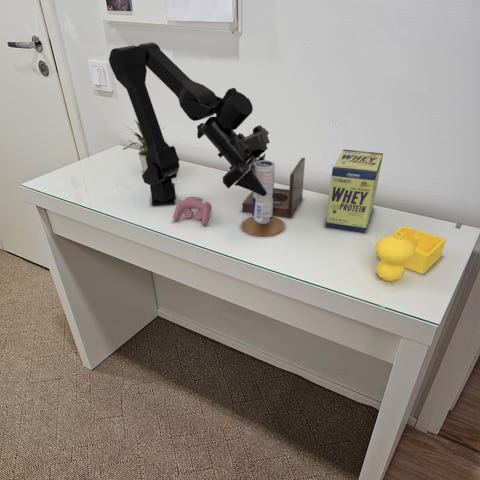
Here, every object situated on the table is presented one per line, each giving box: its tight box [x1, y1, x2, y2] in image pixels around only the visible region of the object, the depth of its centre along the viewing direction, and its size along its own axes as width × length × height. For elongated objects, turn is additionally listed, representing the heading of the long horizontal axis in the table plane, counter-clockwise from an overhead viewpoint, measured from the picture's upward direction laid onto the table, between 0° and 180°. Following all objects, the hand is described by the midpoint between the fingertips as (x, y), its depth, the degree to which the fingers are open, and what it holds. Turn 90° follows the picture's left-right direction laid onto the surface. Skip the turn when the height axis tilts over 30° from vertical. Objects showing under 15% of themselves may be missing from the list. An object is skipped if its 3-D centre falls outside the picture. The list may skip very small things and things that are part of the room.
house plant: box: [125, 119, 166, 173], centre depth 143 cm, size 14×14×16 cm
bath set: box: [375, 224, 447, 282], centre depth 95 cm, size 20×10×11 cm, turn 138°
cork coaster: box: [241, 216, 285, 237], centre depth 114 cm, size 11×11×1 cm
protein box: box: [325, 149, 384, 234], centre depth 113 cm, size 10×16×16 cm
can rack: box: [242, 187, 302, 219], centre depth 124 cm, size 14×13×2 cm
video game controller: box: [172, 196, 213, 227], centre depth 117 cm, size 10×5×7 cm, turn 71°
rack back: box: [288, 157, 306, 219], centre depth 119 cm, size 1×13×12 cm, turn 161°
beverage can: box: [252, 159, 276, 224], centre depth 109 cm, size 5×5×15 cm
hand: (268, 190), depth 108 cm, fingers closed on beverage can, 5 cm apart
